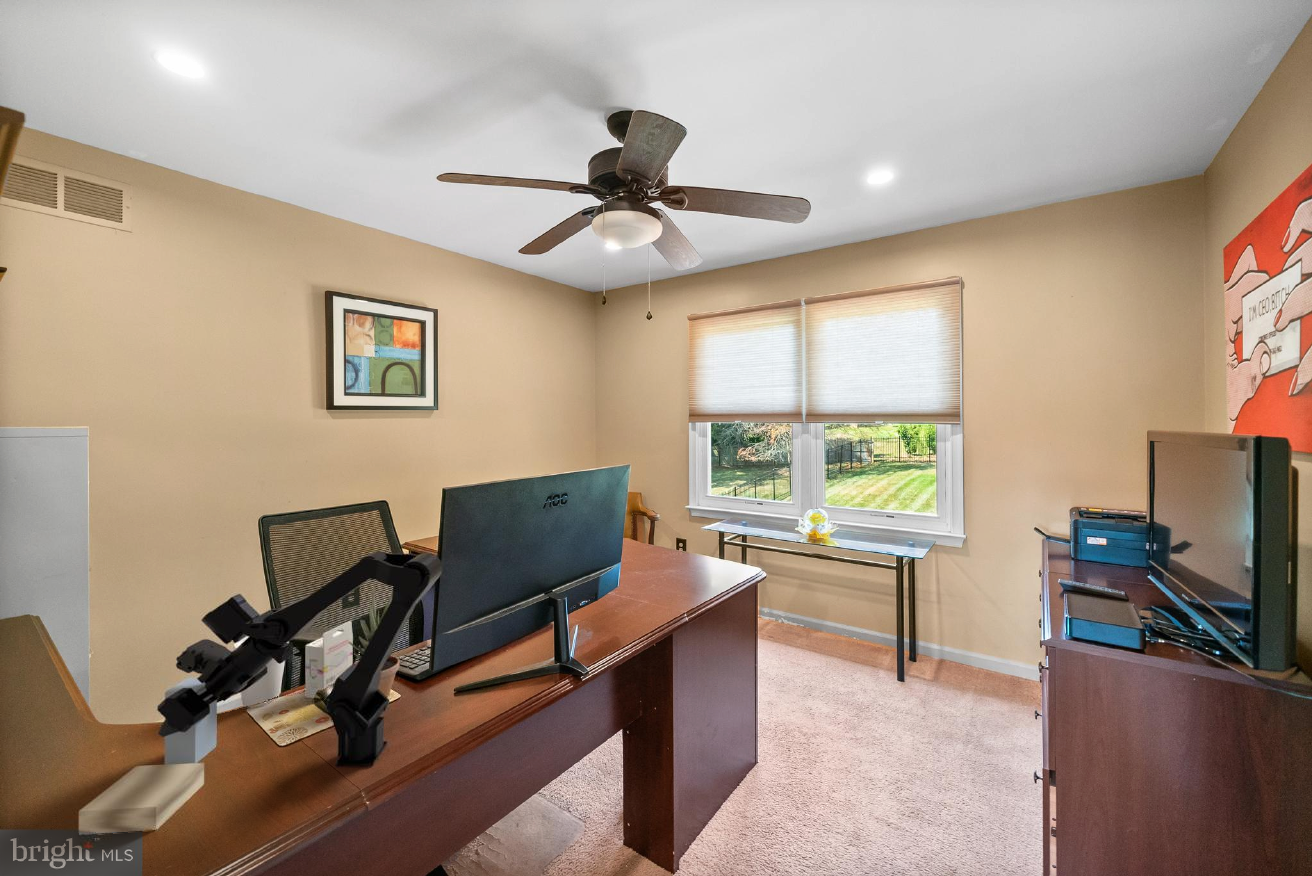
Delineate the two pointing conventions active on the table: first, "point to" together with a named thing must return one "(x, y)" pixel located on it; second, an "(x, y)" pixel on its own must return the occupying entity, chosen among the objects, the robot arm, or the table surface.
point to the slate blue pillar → (192, 731)
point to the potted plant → (392, 661)
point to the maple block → (142, 798)
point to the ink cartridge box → (328, 658)
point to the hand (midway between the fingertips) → (183, 719)
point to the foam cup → (263, 684)
